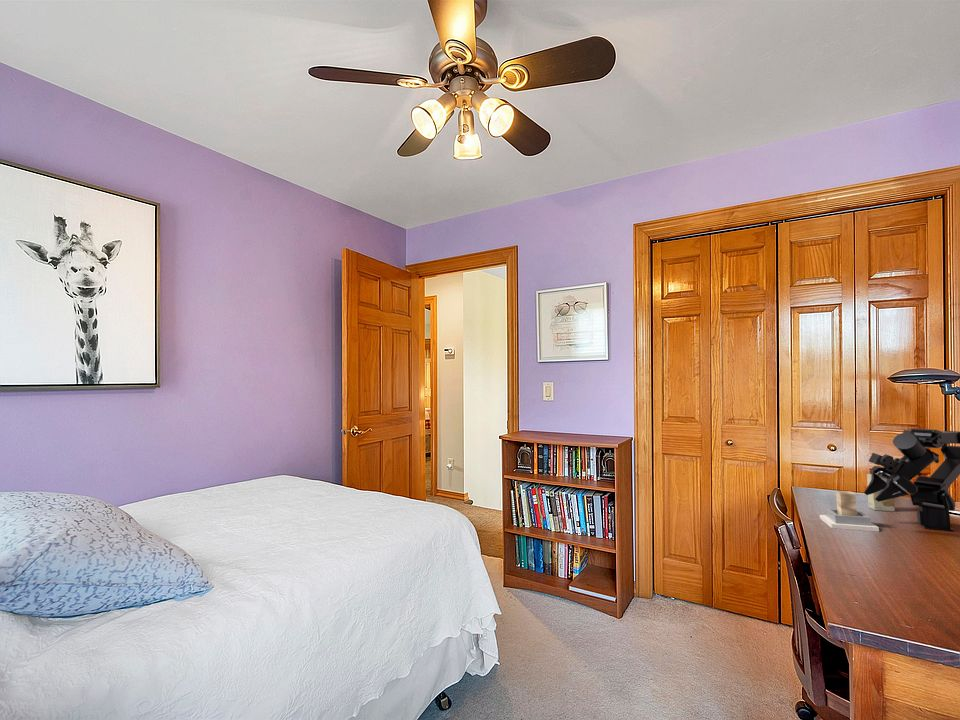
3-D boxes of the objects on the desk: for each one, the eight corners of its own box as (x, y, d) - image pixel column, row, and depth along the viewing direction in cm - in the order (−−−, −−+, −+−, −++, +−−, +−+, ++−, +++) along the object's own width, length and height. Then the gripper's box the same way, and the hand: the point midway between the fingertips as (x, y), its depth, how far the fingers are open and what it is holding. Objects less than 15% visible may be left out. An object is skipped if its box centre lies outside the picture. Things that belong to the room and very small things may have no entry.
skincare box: (874, 510, 164) (871, 475, 164) (868, 507, 168) (865, 473, 169) (896, 511, 162) (893, 476, 163) (889, 508, 166) (886, 474, 167)
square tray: (863, 521, 151) (862, 509, 152) (879, 531, 141) (878, 519, 141) (819, 518, 156) (819, 507, 156) (831, 528, 145) (830, 516, 145)
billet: (852, 519, 149) (850, 491, 150) (857, 523, 146) (855, 494, 146) (837, 518, 151) (836, 490, 151) (842, 521, 147) (840, 493, 148)
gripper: (875, 441, 154) (838, 473, 158) (900, 448, 137) (857, 483, 141) (907, 466, 151) (868, 498, 154) (937, 476, 134) (892, 512, 137)
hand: (870, 497), depth 147 cm, fingers open, 9 cm apart
